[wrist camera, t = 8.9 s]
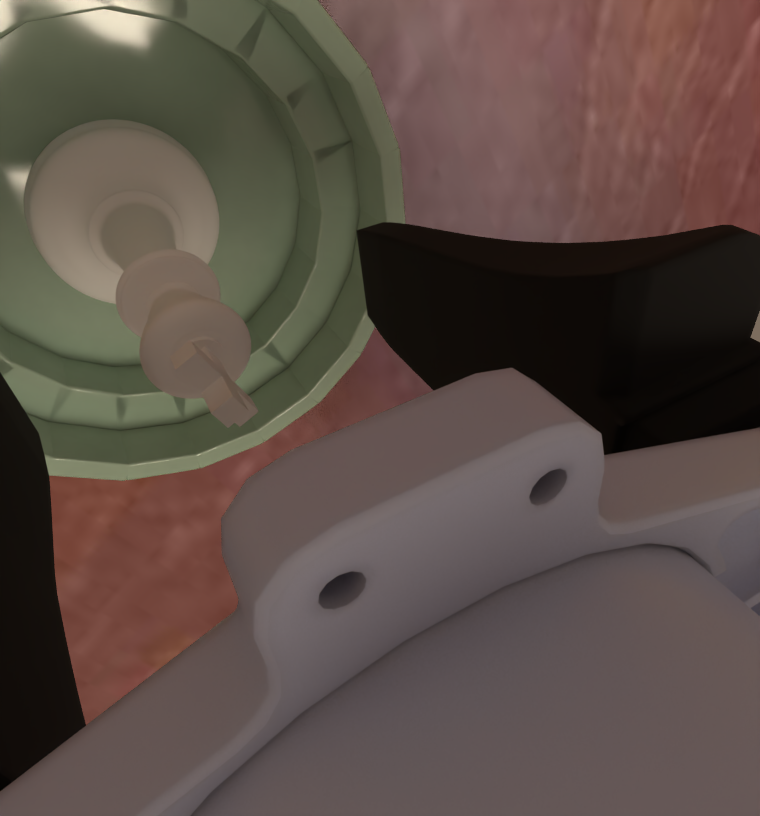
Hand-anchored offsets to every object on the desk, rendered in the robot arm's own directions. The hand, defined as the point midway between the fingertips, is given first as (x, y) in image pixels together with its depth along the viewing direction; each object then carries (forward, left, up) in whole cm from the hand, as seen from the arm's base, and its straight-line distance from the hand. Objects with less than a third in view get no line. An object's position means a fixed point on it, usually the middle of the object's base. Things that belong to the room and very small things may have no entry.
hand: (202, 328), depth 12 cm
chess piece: (0, 0, -7) cm, 7 cm away
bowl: (0, 0, -8) cm, 8 cm away
